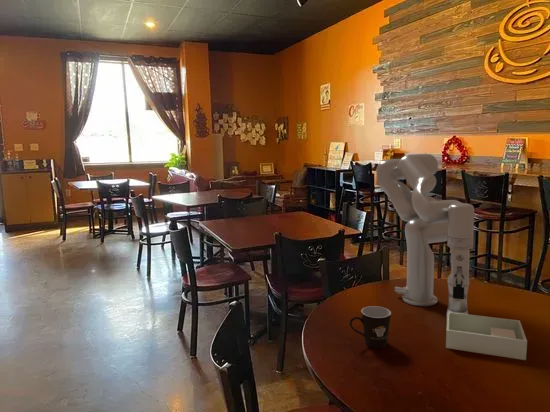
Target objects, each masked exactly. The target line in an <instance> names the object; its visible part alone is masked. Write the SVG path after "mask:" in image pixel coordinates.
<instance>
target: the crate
mask: <svg viewBox="0 0 550 412" xmlns="http://www.w3.org/2000/svg"><path fill="white" fill-rule="evenodd" d="M446 314H447V316H446V331H445V332H446V333H445V335H446V336H445V348H446V349H451V350H457V351H464V352H470V353H476V354H481V355H489V356H494V357H495V356H497V357H503V358H509V359H515V360H521V361H527V353H528V352H527V350H528V340H527V337H526V334H525V331H524V329H523V325H522V323H521V320H518V319H509V318H501V317H495V316H494V317H493V316H485V315H479V314H478V315H477V314H470V313H468V314H462V313H454V312H447V311H446ZM491 327H492V328H500V329H508V330H514V332H515V336H516V339H513V338H506V337H499V336H492V335H490V331H491Z"/></svg>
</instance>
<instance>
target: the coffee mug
mask: <svg viewBox="0 0 550 412" xmlns="http://www.w3.org/2000/svg"><path fill="white" fill-rule="evenodd" d="M360 312H361V317H359V316H354V317H352V318H351V319H350V320H349V326H350V328H351V329H352V330H353V332H355V333H357V334H359V335H361V336H363V338H364V344H365V346H367V347H369V348H371V349H383V348H386V347H387V345H388V340H389V339H388V337H389V331H390V323H391V316H392V311H391V310H389V309H388V308H386V307H383V306H378V305H377V306H376V305H375V306H374V305H372V306H370V305H369V306H365V307H363V308H362V309H361V310H360ZM355 320H359V321H360V322H361V324H362V328H363V330H362V331H363V332H361V331H359V330H357V329H356V328H354V326H353V325H352V323H353V322H354V321H355Z"/></svg>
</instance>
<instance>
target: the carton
mask: <svg viewBox="0 0 550 412" xmlns="http://www.w3.org/2000/svg"><path fill="white" fill-rule="evenodd" d="M490 335H492V336H499V337H506V338H513V339H516V336H515V332H514V330H508V329H500V328H492V327H491V331H490Z"/></svg>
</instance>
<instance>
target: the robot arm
mask: <svg viewBox="0 0 550 412" xmlns="http://www.w3.org/2000/svg"><path fill="white" fill-rule="evenodd" d="M438 171H439V162H438V160H437V158H436V157H435V156H434V155H432V154H429V153H416V154H414V153H413V154H407V155H404V156H402V157H401V158H389V159H385V160H382V161H381V162H379V164H378V165H377V166H376V178H377V183H378V185H379V187H380V188H381V190H382V191H383V192H384V194H386V195H387V197H388V198H389V200H390V202H391V204H392V206H393V207H394V209H395V211H396V213H397V215H398V216H399V217H400V219H401V220H402V221H403V222H407V223H405V227H404V233H405V234H404V235H405V239H406V241H405V242H406V259H407V260H406V285H405V286H403V287H400V286H394V292H395V293H396V294H399V295H401V298H402V301H403V302H405V303H406V304H408V305H411V306H418V307H431V306H434V305H436V304H437V303H438V297H437V296H436V295H434V275H435V273H434V272H435V270H434V269H435V256H434V255H435V254H434V252H433V250H432V248H431V247H430V245H429V244H435V243H442V242H443V243H445V242H447V243H446V245H447V247H448V248H450V250H451V251H450V269H451V273H452V278H454V286H453V298H454V299H464V278H465V279H466V280H468V279H469V278H470V249H473V247H474V229H475V228H474V227H475V226H474V225H475V207H474V205H473V204H471V203H465V202H461V201H459V200H457V199H441V200H438V199H436V198H434V197H432V196H430V195H429V196H428V195H427V194H429V193H430V192H432V191H433V189H434V188H435V187H436V185H437V178H436V176H435V174H436V173H437V172H438ZM400 180H406V181H407V183H408V184H409V185H410V187H411V188H412V191H411V189H410V188H409V186H408V185H406V184H405V183H403V182H402V181H400ZM426 195H427V196H426ZM462 274H463V276H462ZM456 276H457V277H456ZM461 276H462V277H461ZM461 280H462V281H461ZM469 280H470V279H469Z"/></svg>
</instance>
